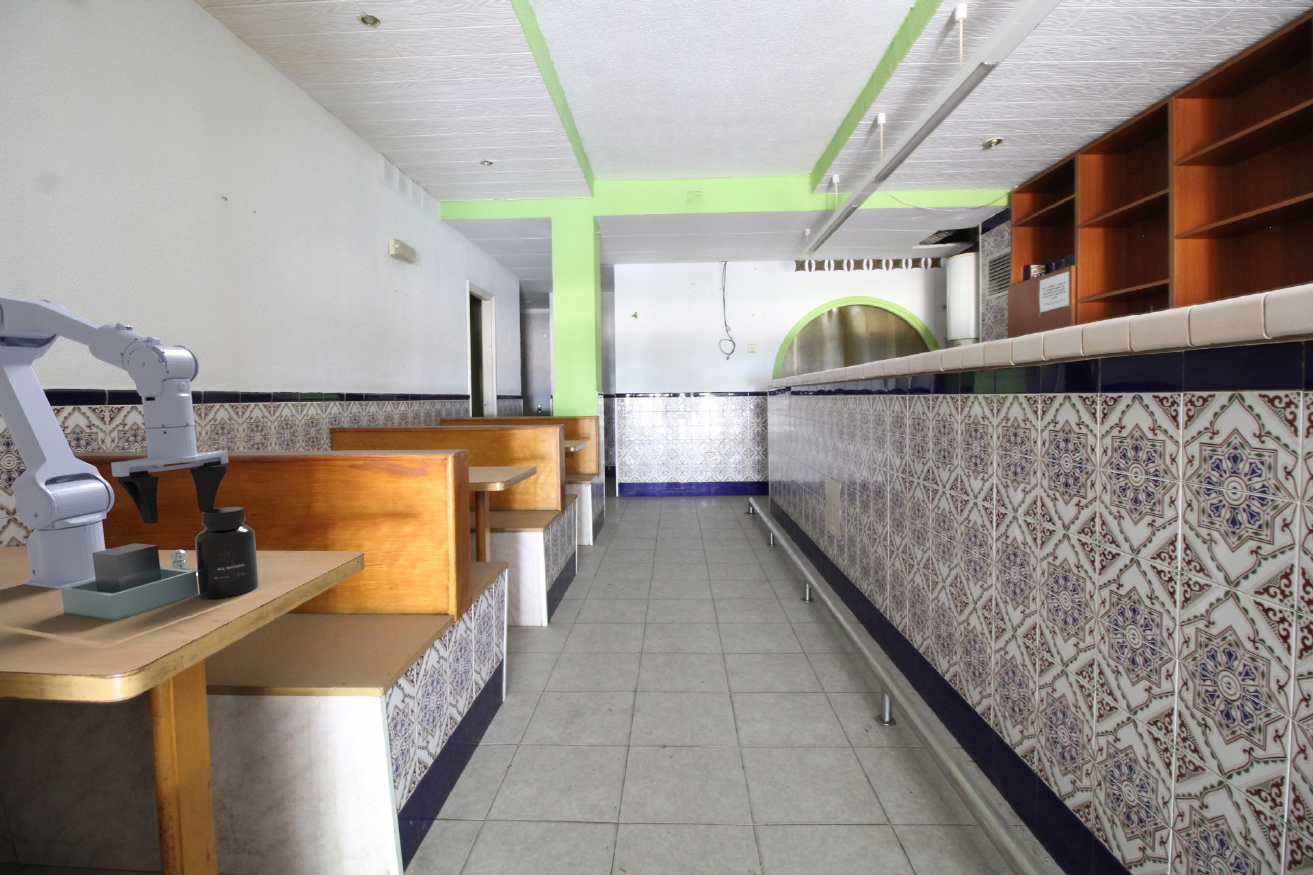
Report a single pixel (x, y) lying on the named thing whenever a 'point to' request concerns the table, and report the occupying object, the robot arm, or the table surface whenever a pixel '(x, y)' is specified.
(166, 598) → the bin
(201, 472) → the robot arm
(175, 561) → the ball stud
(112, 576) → the block
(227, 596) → the supplement bottle
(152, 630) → the table surface
